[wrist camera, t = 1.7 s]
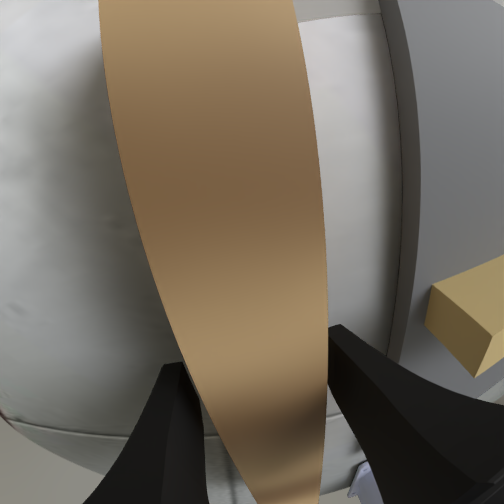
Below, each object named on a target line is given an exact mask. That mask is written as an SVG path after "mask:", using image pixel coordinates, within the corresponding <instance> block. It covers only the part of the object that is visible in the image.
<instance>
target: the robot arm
mask: <svg viewBox="0 0 504 504" xmlns="http://www.w3.org/2000/svg"><path fill="white" fill-rule="evenodd" d="M327 383H328V385H329V388H330V390H331V393H332V395H333V397H334V399H335V401H336V403H337V404H338V406H339V408H340V410H341V412H342V413H343V415H344V417H345V419H346V421H347V422H348V424H349V426H350V428H351V429H352V431H353V433H354V435H355V437H356V438H357V440H358V442H359V444H360V446H361V448H362V450H363V452H364V454H365V456H366V458H367V462H365V463H363V464H361V465H360V466H359V467H358V469H357V472H356V475H355V477H354V480H353V482H352V485H351V487H350V490H349V492H348V494H347V496H348V498H350V497H353V496H356V495H358V497H359V499H360V502H361V504H504V405H499V404H494V403H490V402H486V401H482V400H478V399H475V398H472V397H469V396H466V395H463V394H460V393H457V392H454V391H451V390H449V389H446V388H444V387H442V386H439V385H437V384H435V383H433V382H430V381H428V380H426V379H424V378H422V377H420V376H418V375H416V374H415V373H413V372H411V371H409V370H408V369H406V368H404V367H402V366H401V365H399V364H398V363H396V362H394V361H393V360H391V359H390V358H388V357H387V356H385V355H384V354H382V353H380V352H379V351H377V350H376V349H375V348H373V347H372V346H370V345H369V344H367V343H366V342H365V341H363V340H362V339H360V338H359V337H358V336H356V335H355V334H354V333H352V332H351V331H349V330H348V329H347V328H345V327H344V326H342V325H341V324H339V325H335V326H332V327H329V328H328V378H327ZM83 504H209V500H208V495H207V487H206V473H205V451H204V428H203V420H202V414H201V407H200V401H199V398H198V396H197V394H196V392H195V390H194V387H193V385H192V383H191V381H190V378H189V376H188V374H187V372H186V369H185V367H184V365H183V362H176V363H170V364H164V365H163V367H162V368H161V371H160V373H159V376H158V378H157V381H156V383H155V385H154V388H153V390H152V392H151V395H150V397H149V399H148V401H147V403H146V406H145V408H144V410H143V412H142V414H141V416H140V418H139V420H138V422H137V424H136V426H135V428H134V430H133V432H132V434H131V436H130V437H129V439H128V441H127V443H126V445H125V447H124V448H123V450H122V452H121V453H120V455H119V457H118V458H117V460H116V461H115V463H114V464H113V466H112V467H111V469H110V470H109V472H108V473H107V474H106V476H105V477H104V479H103V480H102V481H101V482H100V484H99V485H98V486H97V488H96V489H95V490H94V491H93V493H92V494H91V495H90V496H89V497H88V498H87V499H86V500H85V502H84V503H83Z"/></svg>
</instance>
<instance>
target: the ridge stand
mask: <svg viewBox="0 0 504 504" xmlns="http://www.w3.org/2000/svg"><path fill="white" fill-rule="evenodd" d="M378 1H379V5H380V9H381V13H382V17H383V21H384V26H385V30H386V35H387V39H388V44H389V49H390V55H391V60H392V66H393V73H394V79H395V86H396V94H397V102H398V111H399V122H400V134H401V151H402V182H403V204H402V236H401V252H400V265H399V276H398V286H397V294H396V302H395V310H394V317H393V323H392V330H391V336H390V342H389V347H388V352H387V357H388V358H390V359H391V360H393V361H394V362H396V363H398V364H399V365H401V366H402V367H404V368H406V369H408V370H409V371H411V372H413V373H415V374H416V375H418V376H420V377H422V378H424V379H426V380H428V381H430V382H433V383H435V384H437V385H439V386H442V387H444V388H446V389H449V390H451V391H454V392H457V393H460V394H463V395H466V396H469V397H472V398H475V399H476V398H478V397H479V396H481V395H482V394H483V393H485V392H486V391H487V390H489V389H490V388H491V387H493V386H494V385H495V384H496V383H498V382H499V381H500V380H502V379H503V378H504V7H503V6H501V5H500V4H498V3H497V2H495V1H493V0H378Z"/></svg>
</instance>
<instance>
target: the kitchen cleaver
mask: <svg viewBox="0 0 504 504" xmlns="http://www.w3.org/2000/svg"><path fill="white" fill-rule="evenodd" d="M493 1H495V2H497V3H498V4H500V5H501V6H503V7H504V0H493ZM293 5H294V9H295V14H296V18H297V23H300V22H305V21H311V20H318V19H324V18H332V17H340V16H350V15H362V14H380V13H381V9H380V5H379V1H378V0H293Z"/></svg>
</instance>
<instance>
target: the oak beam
mask: <svg viewBox="0 0 504 504" xmlns="http://www.w3.org/2000/svg"><path fill="white" fill-rule="evenodd" d="M98 1H99V19H100V32H101V43H102V52H103V61H104V69H105V77H106V84H107V90H108V97H109V103H110V109H111V114H112V120H113V125H114V131H115V136H116V141H117V145H118V150H119V155H120V159H121V164H122V168H123V172H124V176H125V181H126V185H127V189H128V193H129V197H130V200H131V204H132V208H133V212H134V215H135V219H136V222H137V226H138V229H139V233H140V236H141V240H142V243H143V246H144V249H145V253H146V256H147V259H148V262H149V265H150V268H151V271H152V274H153V277H154V280H155V283H156V286H157V289H158V292H159V295H160V298H161V300H162V303H163V306H164V309H165V312H166V314H167V317H168V320H169V322H170V325H171V327H172V330H173V333H174V335H175V338H176V340H177V343H178V345H179V348H180V350H181V353H182V355H183V357H184V360H185V362H186V365H187V367H188V369H189V372H190V374H191V376H192V379H193V381H194V383H195V385H196V388H197V390H198V392H199V394H200V396H201V399H202V401H203V403H204V405H205V407H206V409H207V411H208V413H209V416H210V418H211V420H212V422H213V424H214V426H215V428H216V430H217V432H218V434H219V436H220V438H221V440H222V442H223V443H224V445H225V447H226V449H227V451H228V453H229V455H230V457H231V459H232V460H233V462H234V464H235V466H236V468H237V469H238V471H239V473H240V475H241V477H242V478H243V480H244V482H245V484H246V485H247V487H248V489H249V490H250V492H251V494H252V495H253V497H254V499H255V500H256V502H257V504H318V501H319V493H320V484H321V474H322V464H323V452H324V439H325V424H326V405H327V378H328V292H327V263H326V243H325V227H324V213H323V200H322V188H321V178H320V167H319V158H318V149H317V140H316V132H315V125H314V117H313V110H312V103H311V96H310V89H309V83H308V77H307V71H306V65H305V59H304V54H303V49H302V43H301V38H300V33H299V28H298V23H297V18H296V14H295V9H294V5H293V0H98Z"/></svg>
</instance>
